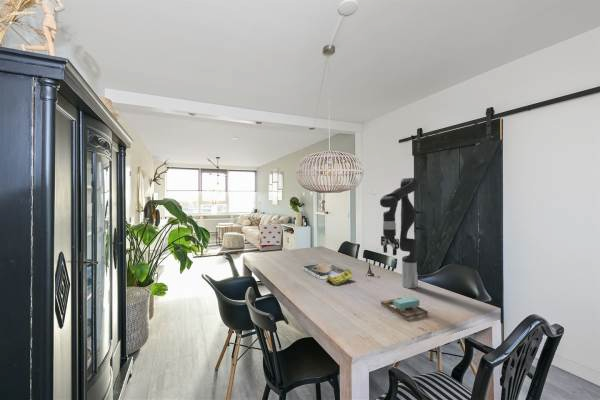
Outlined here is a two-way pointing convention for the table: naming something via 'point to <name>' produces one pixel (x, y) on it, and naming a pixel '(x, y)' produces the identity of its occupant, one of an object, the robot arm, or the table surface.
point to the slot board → (408, 312)
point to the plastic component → (340, 277)
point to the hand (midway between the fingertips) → (389, 253)
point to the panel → (406, 303)
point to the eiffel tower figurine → (370, 271)
